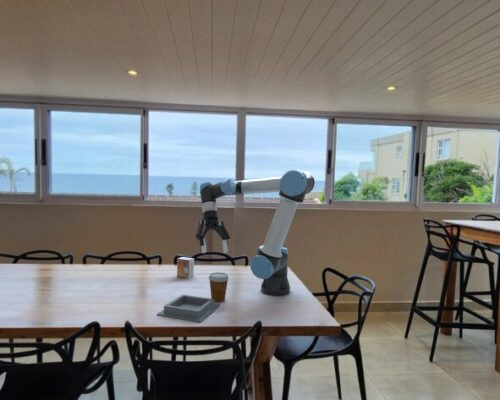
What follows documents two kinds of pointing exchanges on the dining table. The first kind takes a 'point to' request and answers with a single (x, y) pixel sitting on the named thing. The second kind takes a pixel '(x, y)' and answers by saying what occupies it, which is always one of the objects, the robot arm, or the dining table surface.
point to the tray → (189, 308)
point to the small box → (185, 267)
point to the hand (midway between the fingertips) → (215, 252)
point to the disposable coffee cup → (218, 286)
